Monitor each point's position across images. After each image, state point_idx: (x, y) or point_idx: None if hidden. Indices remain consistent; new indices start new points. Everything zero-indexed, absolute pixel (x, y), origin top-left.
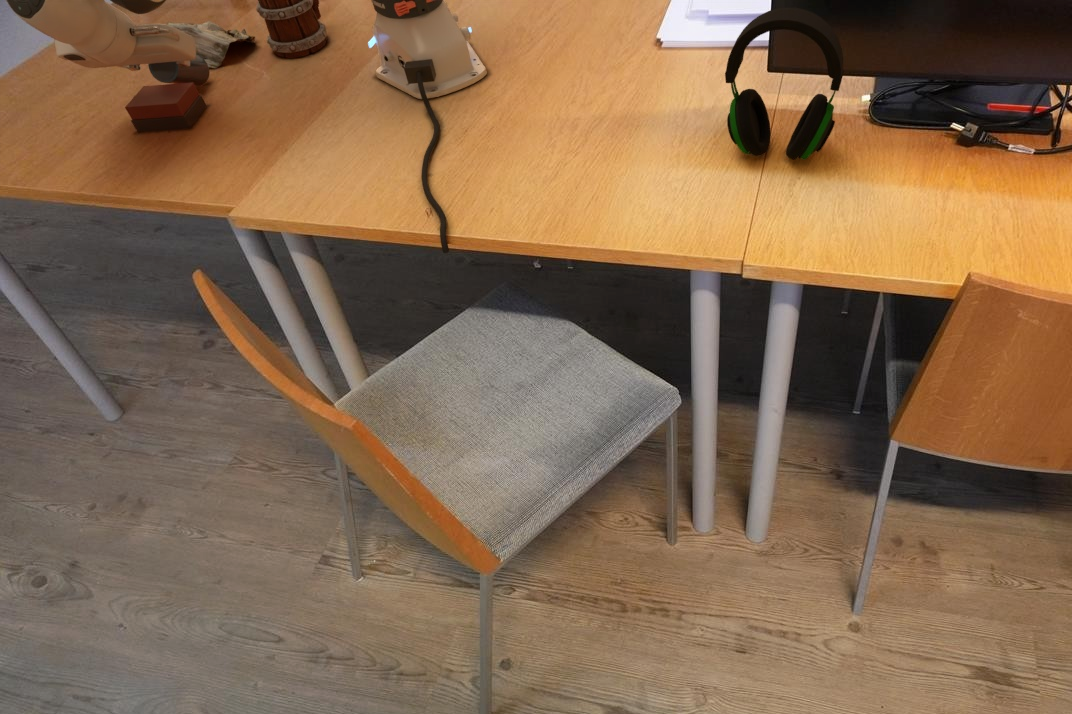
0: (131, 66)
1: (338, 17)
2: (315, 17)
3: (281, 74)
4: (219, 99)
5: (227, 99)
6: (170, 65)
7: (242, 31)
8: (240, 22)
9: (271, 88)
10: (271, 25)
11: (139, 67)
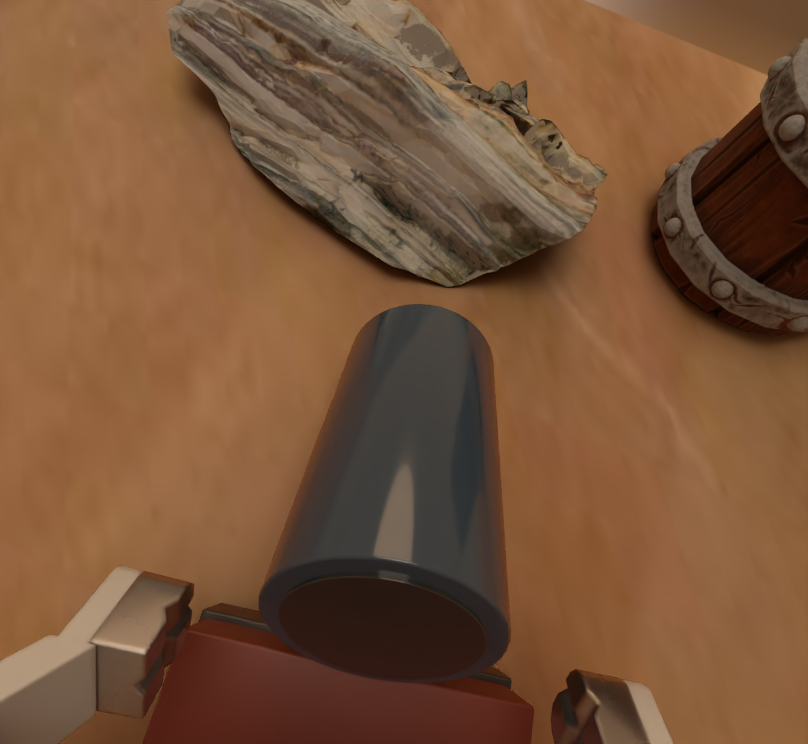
0: (120, 711)
1: None
2: None
3: (748, 454)
4: (535, 603)
5: (576, 619)
6: (443, 647)
7: (516, 89)
8: (465, 11)
9: (754, 579)
10: (805, 225)
11: (186, 624)
